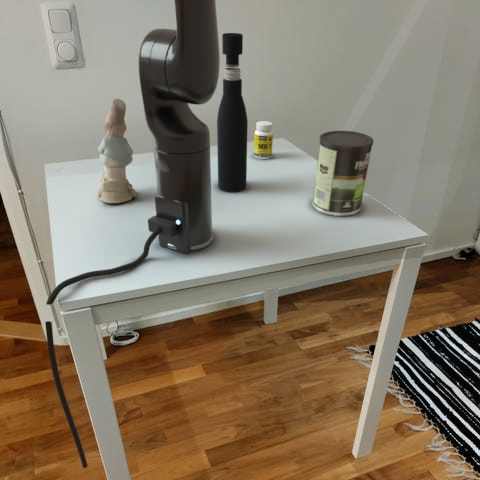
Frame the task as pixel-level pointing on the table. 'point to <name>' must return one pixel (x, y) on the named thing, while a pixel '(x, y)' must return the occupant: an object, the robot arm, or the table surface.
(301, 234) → the table surface
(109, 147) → the figurine
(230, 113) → the dark blue water bottle
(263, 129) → the supplement bottle
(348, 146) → the coffee can
